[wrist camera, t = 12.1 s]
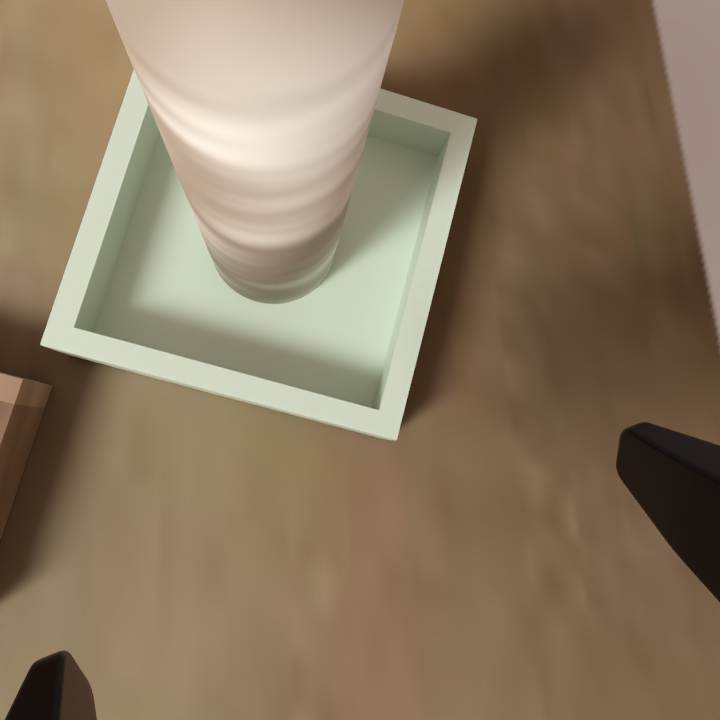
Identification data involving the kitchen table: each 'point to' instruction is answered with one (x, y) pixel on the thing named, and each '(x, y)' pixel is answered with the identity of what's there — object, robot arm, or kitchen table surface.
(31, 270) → the kitchen table surface
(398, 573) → the kitchen table surface
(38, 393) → the brown square open box
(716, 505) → the robot arm
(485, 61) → the kitchen table surface
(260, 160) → the peg
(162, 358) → the tray
